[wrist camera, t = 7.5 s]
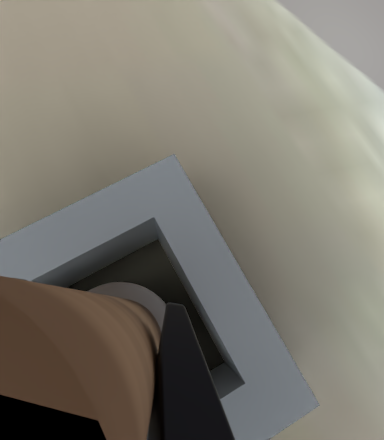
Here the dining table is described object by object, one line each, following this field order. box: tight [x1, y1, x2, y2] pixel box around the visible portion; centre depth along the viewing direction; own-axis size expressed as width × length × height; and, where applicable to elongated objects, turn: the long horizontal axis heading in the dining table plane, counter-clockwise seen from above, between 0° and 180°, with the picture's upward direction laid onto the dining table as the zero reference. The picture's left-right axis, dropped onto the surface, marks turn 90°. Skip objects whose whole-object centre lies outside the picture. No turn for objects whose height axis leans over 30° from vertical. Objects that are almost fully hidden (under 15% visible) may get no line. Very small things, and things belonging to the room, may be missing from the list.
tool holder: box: [0, 154, 319, 440], centre depth 14 cm, size 10×10×4 cm
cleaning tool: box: [0, 276, 166, 440], centre depth 8 cm, size 4×4×13 cm
